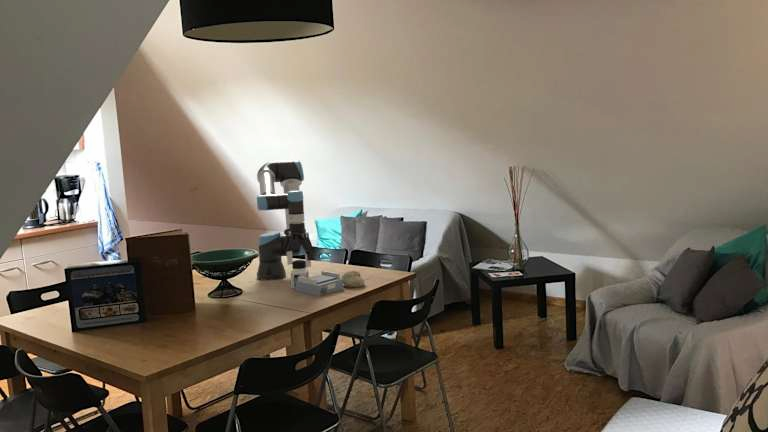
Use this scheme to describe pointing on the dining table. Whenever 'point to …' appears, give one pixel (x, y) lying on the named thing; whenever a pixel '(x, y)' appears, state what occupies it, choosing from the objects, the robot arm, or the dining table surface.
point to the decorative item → (352, 279)
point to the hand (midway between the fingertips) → (299, 265)
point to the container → (298, 271)
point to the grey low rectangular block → (320, 283)
